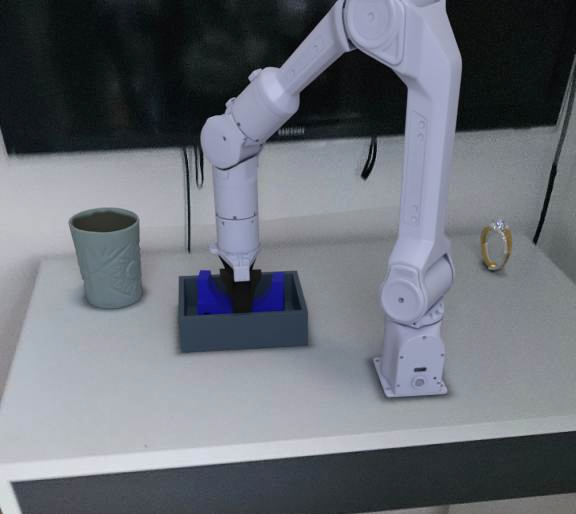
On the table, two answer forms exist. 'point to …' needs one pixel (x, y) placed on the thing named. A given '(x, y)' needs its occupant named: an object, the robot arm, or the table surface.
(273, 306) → the blue cradle bracket
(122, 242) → the embossed grey cup
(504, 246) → the ring
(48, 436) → the table surface
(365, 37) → the robot arm
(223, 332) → the desk bin
